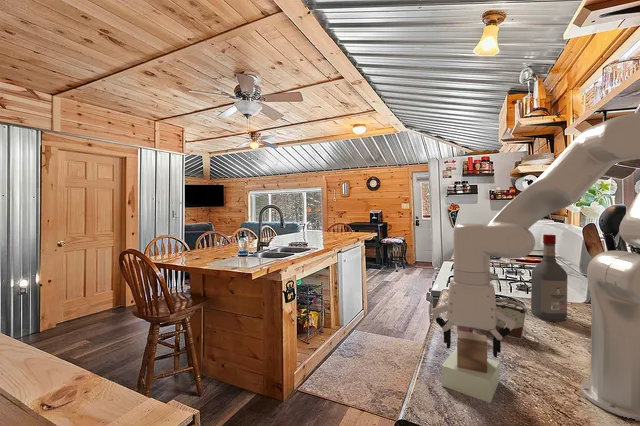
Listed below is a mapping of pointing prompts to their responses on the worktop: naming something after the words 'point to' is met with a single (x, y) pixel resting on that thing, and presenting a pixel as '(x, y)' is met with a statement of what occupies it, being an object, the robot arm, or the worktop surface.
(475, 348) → the walnut block
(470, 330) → the pill bottle
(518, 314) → the food container
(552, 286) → the liquor
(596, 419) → the worktop surface
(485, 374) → the sage block
